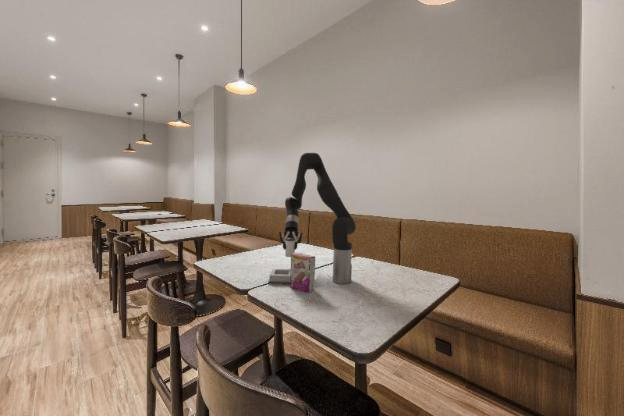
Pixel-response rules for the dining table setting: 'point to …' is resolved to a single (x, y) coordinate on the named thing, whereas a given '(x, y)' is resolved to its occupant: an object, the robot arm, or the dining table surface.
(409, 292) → the dining table surface
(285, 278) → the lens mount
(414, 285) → the dining table surface
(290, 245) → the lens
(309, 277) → the candy bar box
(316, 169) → the robot arm
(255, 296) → the dining table surface
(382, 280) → the dining table surface
